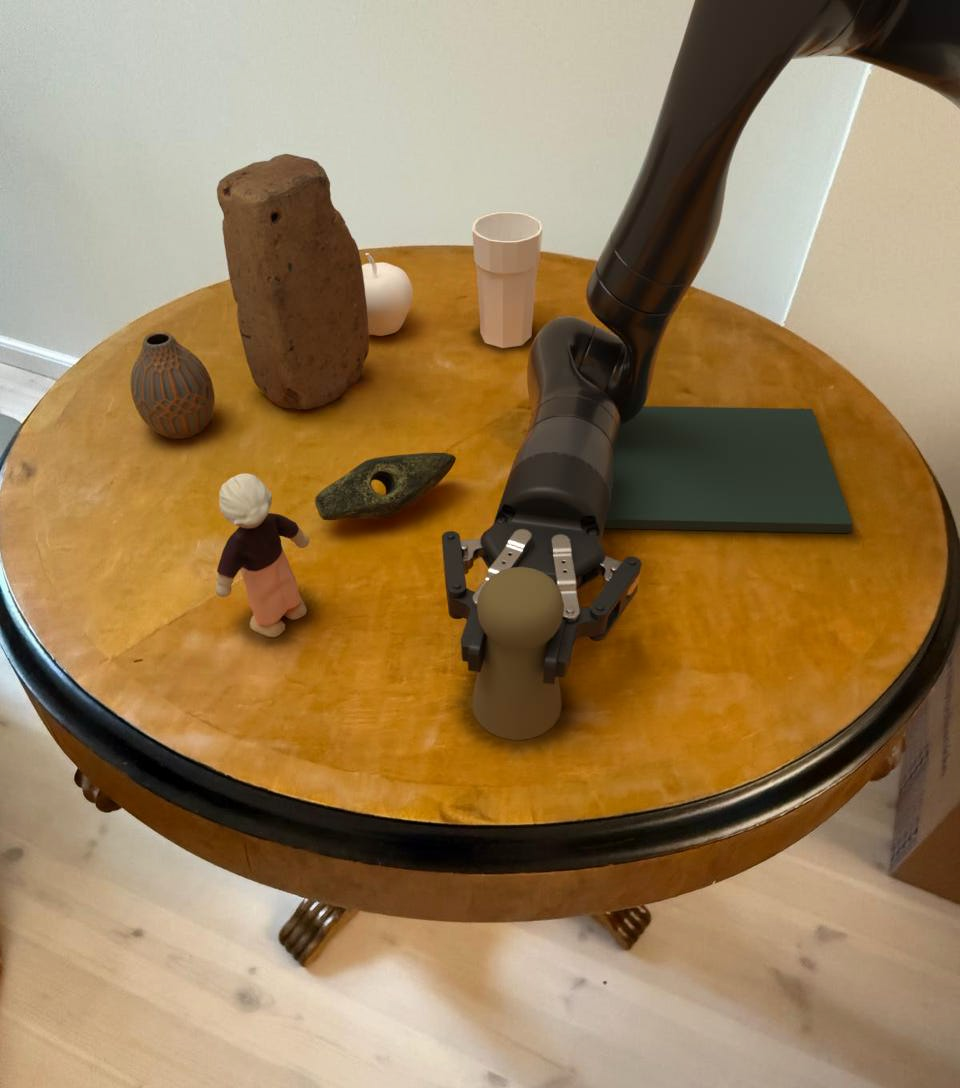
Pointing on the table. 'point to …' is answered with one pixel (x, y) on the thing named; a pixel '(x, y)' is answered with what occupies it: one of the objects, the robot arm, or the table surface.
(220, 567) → the grandmother figurine
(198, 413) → the vase
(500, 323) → the cup
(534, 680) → the cork
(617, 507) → the mat
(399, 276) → the plain white apple
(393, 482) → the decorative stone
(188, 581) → the table surface
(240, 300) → the block
